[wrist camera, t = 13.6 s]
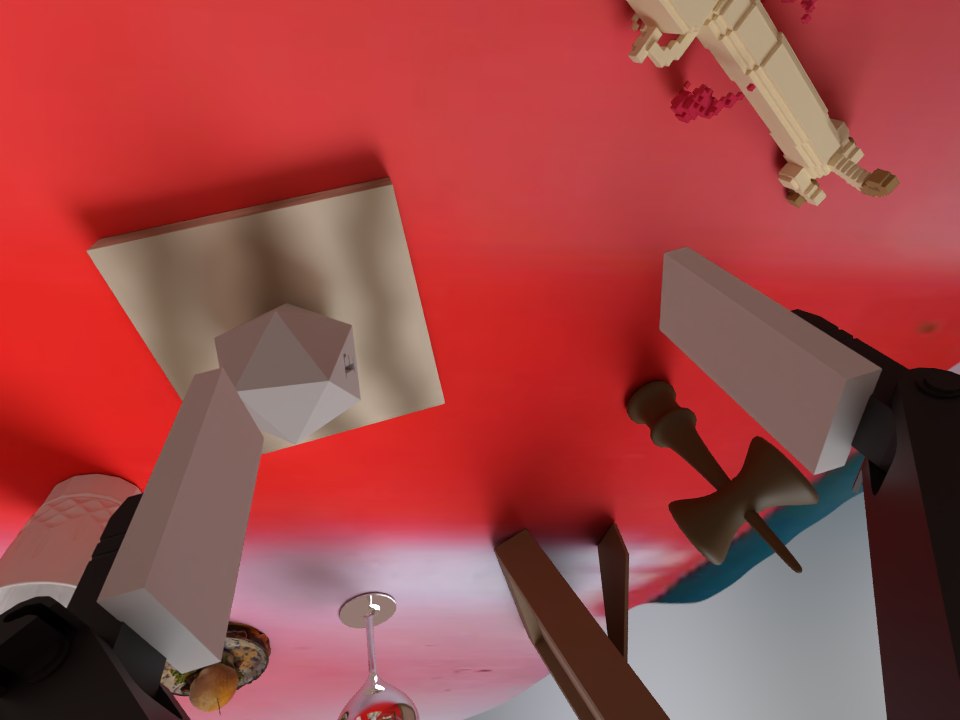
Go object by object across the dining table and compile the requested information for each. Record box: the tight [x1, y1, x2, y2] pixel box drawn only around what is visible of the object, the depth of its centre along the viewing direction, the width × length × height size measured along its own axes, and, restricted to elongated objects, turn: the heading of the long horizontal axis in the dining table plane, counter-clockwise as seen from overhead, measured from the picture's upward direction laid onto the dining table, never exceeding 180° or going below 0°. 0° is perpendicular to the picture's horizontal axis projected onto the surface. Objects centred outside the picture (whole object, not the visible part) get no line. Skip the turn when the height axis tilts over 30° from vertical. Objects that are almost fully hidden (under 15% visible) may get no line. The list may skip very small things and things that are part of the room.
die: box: [214, 303, 361, 445], centre depth 32 cm, size 8×9×10 cm
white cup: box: [0, 474, 142, 615], centre depth 36 cm, size 8×8×10 cm
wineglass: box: [337, 593, 420, 720], centre depth 50 cm, size 8×8×18 cm
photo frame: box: [494, 523, 670, 720], centre depth 53 cm, size 15×22×25 cm
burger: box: [160, 623, 271, 715], centre depth 51 cm, size 12×12×8 cm
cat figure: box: [626, 0, 899, 207], centre depth 31 cm, size 10×9×25 cm
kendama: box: [627, 380, 819, 573], centre depth 42 cm, size 6×10×20 cm, turn 131°
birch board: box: [87, 177, 445, 454], centre depth 36 cm, size 18×18×2 cm
